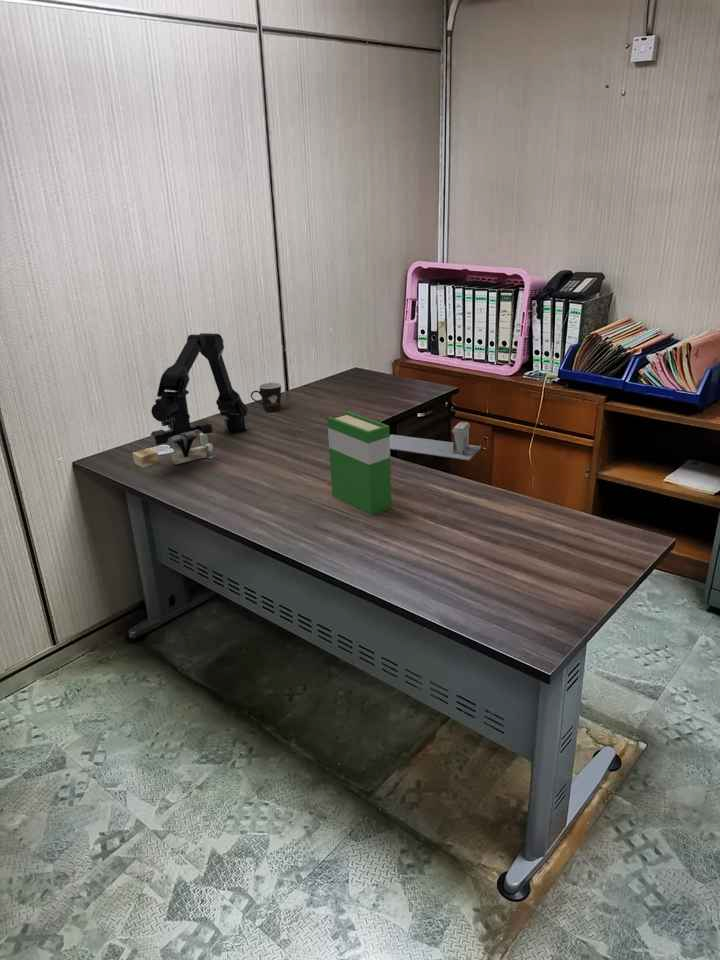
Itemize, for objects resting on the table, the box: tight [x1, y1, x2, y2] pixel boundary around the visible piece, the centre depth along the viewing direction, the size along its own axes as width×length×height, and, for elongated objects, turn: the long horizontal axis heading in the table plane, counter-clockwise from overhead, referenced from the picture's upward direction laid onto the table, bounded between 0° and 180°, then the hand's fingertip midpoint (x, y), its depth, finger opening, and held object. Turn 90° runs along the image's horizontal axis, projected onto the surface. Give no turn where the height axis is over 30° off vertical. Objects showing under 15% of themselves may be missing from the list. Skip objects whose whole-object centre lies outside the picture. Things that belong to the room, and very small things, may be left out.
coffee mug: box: [250, 382, 282, 413], centre depth 277 cm, size 12×9×10 cm
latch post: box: [199, 432, 209, 447], centre depth 245 cm, size 2×2×4 cm
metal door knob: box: [204, 442, 217, 459], centre depth 235 cm, size 4×4×4 cm
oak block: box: [132, 447, 160, 469], centre depth 232 cm, size 6×6×4 cm
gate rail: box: [171, 445, 207, 465], centre depth 232 cm, size 11×2×4 cm, turn 121°
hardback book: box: [326, 411, 392, 516], centre depth 194 cm, size 18×7×24 cm, turn 39°
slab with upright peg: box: [390, 421, 482, 461], centre depth 233 cm, size 12×33×10 cm, turn 63°
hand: (185, 457), depth 227 cm, fingers closed
